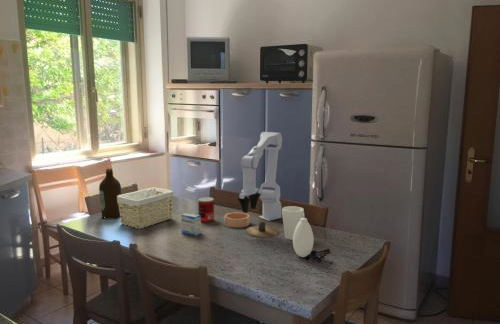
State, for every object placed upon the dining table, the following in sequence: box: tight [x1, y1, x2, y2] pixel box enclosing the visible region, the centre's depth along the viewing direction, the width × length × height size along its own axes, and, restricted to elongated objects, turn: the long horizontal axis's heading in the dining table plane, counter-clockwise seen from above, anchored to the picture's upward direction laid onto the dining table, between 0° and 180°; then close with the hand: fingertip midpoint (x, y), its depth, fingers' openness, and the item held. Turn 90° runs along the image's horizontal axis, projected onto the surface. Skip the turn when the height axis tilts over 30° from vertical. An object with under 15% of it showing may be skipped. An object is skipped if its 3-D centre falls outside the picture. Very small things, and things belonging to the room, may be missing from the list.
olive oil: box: [98, 168, 122, 219], centre depth 217 cm, size 11×11×25 cm
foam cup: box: [281, 205, 305, 241], centre depth 187 cm, size 10×9×13 cm
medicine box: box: [180, 212, 202, 236], centre depth 193 cm, size 8×4×9 cm, turn 62°
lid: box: [245, 220, 279, 238], centre depth 195 cm, size 15×15×5 cm
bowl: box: [224, 211, 251, 229], centre depth 207 cm, size 12×12×4 cm
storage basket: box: [117, 186, 174, 230], centre depth 210 cm, size 24×16×15 cm
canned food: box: [197, 196, 215, 223], centre depth 212 cm, size 8×8×11 cm
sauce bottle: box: [292, 212, 315, 258], centre depth 164 cm, size 8×8×18 cm
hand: (249, 210), depth 196 cm, fingers open, 7 cm apart
